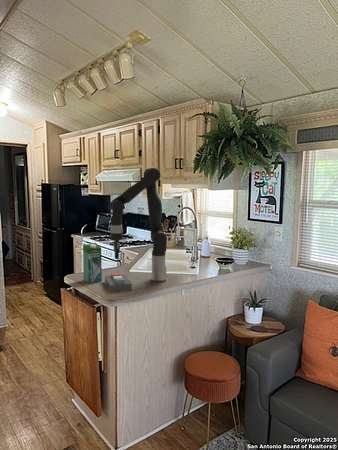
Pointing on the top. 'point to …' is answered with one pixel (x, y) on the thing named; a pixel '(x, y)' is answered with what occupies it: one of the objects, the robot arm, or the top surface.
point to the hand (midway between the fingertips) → (116, 258)
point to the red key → (115, 274)
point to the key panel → (120, 287)
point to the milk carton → (92, 263)
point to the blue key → (119, 281)
